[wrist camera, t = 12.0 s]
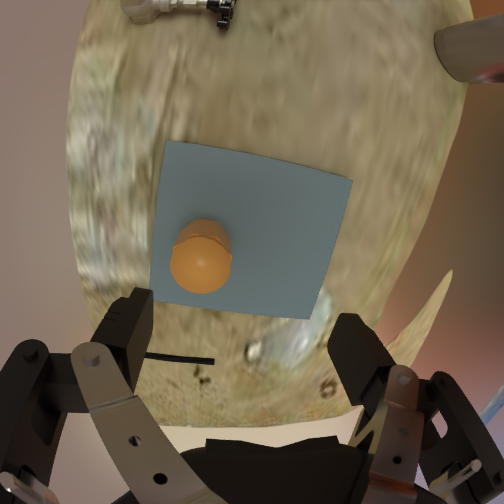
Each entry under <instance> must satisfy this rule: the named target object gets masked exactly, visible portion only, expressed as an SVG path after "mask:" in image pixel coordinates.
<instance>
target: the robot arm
mask: <svg viewBox="0 0 504 504" xmlns="http://www.w3.org/2000/svg"><path fill="white" fill-rule="evenodd" d="M434 41H435V47H436V51H437V54H438V56H439V58H440V60H441V62H442V64H443V66H444V67H445V69H446V70H447V71H448V73H449V74H450V75H451V76H452V77H454V78H455V79H456V80H458V81H460V82H468V83H470V84H481V83H482V84H483V83H504V13H502V14H497V15H492V16H488V17H483V18H479V19H475V20H472V21H468V22H464V23H461V24H457V25H454V26H451V27H448V28H445V29H442V30H439V31H438V32H436V34H435V39H434ZM152 330H153V290H149V289H143V288H138V287H135V288H134V289H133V291H132V293H131V295H130V297H129V298H125V297H120V298H119V299H117V300H116V301H114V302H113V303H112V304H111V306H110V308H109V309H108V312H107V313H106V314H105V316H104V319H102V321H101V323H100V324H99V326H98V328H97V330H96V331H95V333H94V335H93V337H92V338H91V340H90V342H85V343H82V344H80V345H78V346H77V347H75V348H74V350H73V351H72V353H70V354H63V353H49V351H48V348H47V346H46V345H45V344H44V343H43V342H41V341H39V340H35V339H30V340H25V341H23V342H21V343H20V344H18V345H17V346H16V348H15V349H14V351H13V352H12V354H11V355H10V357H9V358H8V360H7V362H6V363H5V365H4V367H3V368H2V370H1V371H0V504H60V503H59V501H58V499H57V497H56V496H55V494H54V493H53V492H52V491H51V490H50V489H49V488H48V486H49V481H50V476H51V472H52V467H53V463H54V459H55V455H56V451H57V447H58V444H59V440H60V436H61V433H62V430H63V427H64V423H65V420H66V417H67V414H68V412H69V413H70V412H71V413H90V415H91V417H92V420H93V422H94V424H95V426H96V429H97V431H98V433H99V435H100V437H101V439H102V441H103V443H104V445H105V447H106V449H107V451H108V453H109V455H110V456H111V458H112V460H113V462H114V464H115V465H116V467H117V469H118V470H119V472H120V474H121V476H122V477H123V479H124V481H125V482H126V484H127V485H128V487H129V488H130V490H129V491H128V492H127V493H125V494H124V495H123V496H121V497H120V498H118V499H117V500H116V501H114V502H113V503H111V504H486V503H488V502H489V501H491V500H492V499H494V498H495V497H497V496H498V495H499V494H501V493H502V492H504V459H503V457H502V455H501V453H500V452H499V450H498V448H497V446H496V444H495V443H494V441H493V439H492V437H491V436H490V434H489V432H488V430H487V429H486V427H485V426H484V424H483V422H482V421H481V419H480V417H479V416H478V414H477V413H476V411H475V410H474V408H473V406H472V405H471V403H470V402H469V401H468V399H467V397H466V396H465V394H464V393H463V391H462V390H461V389H460V387H459V386H458V384H457V383H456V381H455V380H454V379H453V378H452V377H451V376H450V375H449V374H447V373H445V372H442V371H437V372H435V373H434V374H433V376H432V377H431V378H430V380H425V379H419V378H418V376H417V374H416V373H415V372H414V371H413V370H412V369H410V368H409V367H407V366H404V365H397V364H396V363H395V361H394V360H393V358H392V357H391V355H390V354H389V352H388V351H387V349H386V348H385V347H384V346H383V344H382V342H381V341H380V340H379V338H378V337H377V335H376V334H375V332H374V331H373V330H372V329H370V328H369V327H368V326H367V325H365V323H364V322H363V321H362V319H361V318H360V316H359V315H358V314H353V313H341V314H340V315H339V316H338V319H337V321H336V323H335V326H334V328H333V331H332V333H331V335H330V338H329V340H328V345H327V349H328V353H329V356H330V358H331V360H332V362H333V364H334V367H335V369H336V371H337V373H338V375H339V378H340V380H341V382H342V384H343V387H344V389H345V391H346V393H347V396H348V398H349V400H350V403H351V405H352V406H357V405H363V406H364V408H363V410H362V411H361V413H360V415H359V418H358V421H357V423H356V426H355V428H354V431H353V433H352V436H351V438H350V441H349V443H348V445H345V444H339V441H338V438H337V436H328V437H320V438H310V439H306V440H303V441H299V442H296V443H293V444H289V445H286V446H282V447H276V448H275V447H269V446H264V445H259V444H254V443H249V442H245V441H239V440H238V441H237V440H218V439H206V444H205V447H201V448H195V449H191V450H187V451H184V452H182V453H180V454H179V453H178V452H177V450H176V449H175V448H174V447H173V445H172V444H171V442H170V441H169V440H168V438H167V437H166V435H165V434H164V433H163V431H162V430H161V429H160V427H159V425H158V424H157V423H156V421H155V420H154V418H153V417H152V415H151V414H150V412H149V410H148V409H147V407H146V406H145V404H144V403H143V401H142V400H141V398H140V397H139V396H138V395H136V396H134V391H135V387H136V384H137V380H138V377H139V374H140V370H141V367H142V364H143V360H144V357H145V354H146V351H147V348H148V344H149V341H150V338H151V335H152ZM438 411H440V413H441V414H442V416H443V418H444V420H445V421H446V423H447V426H448V430H447V433H446V435H445V436H444V437H443V438H442V439H441V438H440V435H439V433H438V432H437V430H436V428H435V426H434V424H433V422H432V420H431V419H432V418H433V417H434V416H435V415H436V414H437V412H438ZM418 463H419V466H420V468H421V470H422V473H423V475H424V478H425V480H426V483H427V485H428V488H429V491H428V490H426V489H424V488H422V487H420V486H419V485H417V484H415V483H414V481H415V477H416V472H417V467H418Z"/></svg>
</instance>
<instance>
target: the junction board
mask: <svg viewBox="0 0 504 504" xmlns="http://www.w3.org/2000/svg"><path fill="white" fill-rule="evenodd" d="M352 182H353V180H351V179H348V178H344V177H341V176H338V175H334V174H331V173H327V172H324V171H320V170H316V169H313V168H309V167H305V166H301V165H297V164H293V163H289V162H285V161H281V160H276V159H272V158H267V157H263V156H258V155H253V154H249V153H243V152H238V151H233V150H228V149H222V148H216V147H210V146H204V145H197V144H190V143H183V142H176V141H168V140H166V145H165V151H164V157H163V163H162V169H161V175H160V182H159V189H158V196H157V204H156V213H155V222H154V232H153V243H152V256H151V272H150V290H153V300H155V301H161V302H167V303H173V304H179V305H186V306H192V307H199V308H206V309H213V310H221V311H229V312H237V313H246V314H255V315H264V316H274V317H285V318H296V319H310V316H311V314H312V311H313V308H314V305H315V303H316V300H317V297H318V294H319V291H320V288H321V286H322V283H323V280H324V277H325V274H326V271H327V268H328V265H329V262H330V258H331V255H332V252H333V249H334V246H335V242H336V239H337V236H338V232H339V229H340V226H341V222H342V219H343V215H344V212H345V208H346V204H347V201H348V197H349V193H350V189H351V185H352ZM198 218H199V219H206V220H212V221H217V222H219V224H220V225H221V226H222V228H223V229H224V230H225V232H226V233H227V235H228V236H229V237H230V244H231V253H232V260H231V269H230V274H229V277H228V279H227V281H226V282H225V283H224V284H223V285H222V286H221V287H220V288H219V289H217V290H215V291H213V292H210V293H204V294H199V293H193V292H190V291H187V290H185V289H184V288H182V287H181V286H180V285H179V284H178V283H177V282H176V281H175V279H174V277H173V275H172V273H171V268H170V262H171V257H172V253H173V247H174V244H175V242H176V240H177V238H178V236H179V233H180V231H181V230H182V229H183V228H184V227H186V226H187V225H189V224H190V223H191V222H193V221H194V220H196V219H198Z"/></svg>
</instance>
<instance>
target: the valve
mask: <svg viewBox="0 0 504 504" xmlns="http://www.w3.org/2000/svg"><path fill="white" fill-rule="evenodd" d="M118 1H119V2H120V4H121V9H122V11H123V12H124V13H125V14H126V15H127V16H129V17H131V18H132V20H133V21H134V23H135V24H149V23H152V22H153V21H154V20H155V19H156V18H157V17H158V16H159V15H160V14H161V13H162V12H171V11H173V9H174V8H177V7H179V5H183V6H184V8H197V7H198V5H206V9H208V10H211V11H212V12H215V13H221V14H222V20H218V22H217V27H219V29H226V30H228V28H229V25H230V21H229V20H230V19H232V16H233V7H234V4H236V1H237V0H118Z"/></svg>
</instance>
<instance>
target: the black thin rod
mask: <svg viewBox="0 0 504 504" xmlns="http://www.w3.org/2000/svg"><path fill="white" fill-rule="evenodd" d="M144 358H149V359H156V360H163V361H170V362H181V363H197V364H207V365H214V359H212V358H189V357H180V356H173V355H166V354H155V353H146V354H145V357H144Z"/></svg>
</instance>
